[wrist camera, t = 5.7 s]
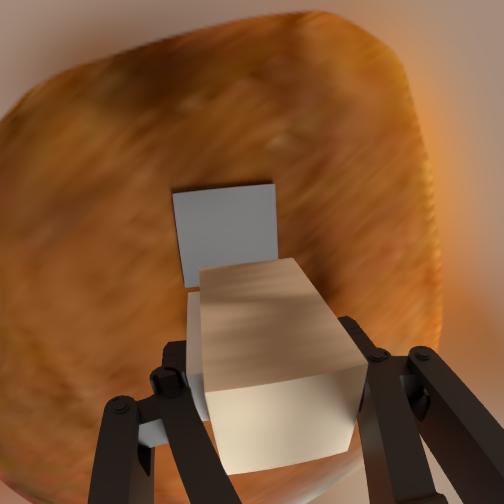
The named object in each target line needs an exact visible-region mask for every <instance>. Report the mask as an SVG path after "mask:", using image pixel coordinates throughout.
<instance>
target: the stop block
mask: <svg viewBox="0 0 504 504" xmlns="http://www.w3.org/2000/svg"><path fill="white" fill-rule="evenodd" d="M199 282H200V315H201V340H202V360H203V377H204V393H205V397H206V402H207V406H208V410H209V415H210V419H211V423H212V427H213V431H214V436H215V440H216V444H217V447H218V451H219V455H220V459H221V463H222V466H223V468H224V470H225V472H226V474H227V475H231V474H239V473H246V472H253V471H260V470H266V469H272V468H277V467H283V466H288V465H293V464H297V463H302V462H306V461H311V460H315V459H319V458H323V457H327V456H331V455H335V454H338V453H342V452H345V451H348V447H349V444H350V440H351V436H352V433H353V429H354V425H355V421H356V417H357V413H358V409H359V405H360V401H361V396H362V392H363V387H364V383H365V378H366V373H367V368H368V362H367V360H366V359H365V357H364V356H363V355H362V353H361V352H360V350H359V349H358V347H357V346H356V345H355V343H354V342H353V340H352V339H351V337H350V336H349V335H348V333H347V332H346V330H345V329H344V328H343V326H342V325H341V323H340V322H339V321H338V319H337V318H336V316H335V315H334V314H333V312H332V311H331V309H330V308H329V307H328V305H327V304H326V302H325V301H324V300H323V298H322V297H321V296H320V294H319V293H318V291H317V290H316V289H315V287H314V286H313V285H312V283H311V282H310V280H309V279H308V278H307V276H306V275H305V274H304V272H303V271H302V269H301V268H300V267H299V265H298V264H297V263H296V261H295V260H294V259H293V258H286V259H277V260H269V261H260V262H251V263H243V264H234V265H225V266H216V267H207V268H199Z"/></svg>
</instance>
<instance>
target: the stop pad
mask: <svg viewBox="0 0 504 504" xmlns="http://www.w3.org/2000/svg"><path fill="white" fill-rule="evenodd" d="M173 203H174V211H175V219H176V227H177V234H178V242H179V249H180V256H181V263H182V269H183V276H184V282H185V288H189V287H198V286H200V282H199V268H207V267H216V266H225V265H234V264H243V263H251V262H260V261H269V260H277V259H278V247H277V220H276V196H275V184H261V185H249V186H238V187H227V188H217V189H207V190H198V191H189V192H180V193H173Z"/></svg>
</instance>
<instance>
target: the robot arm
mask: <svg viewBox="0 0 504 504" xmlns="http://www.w3.org/2000/svg"><path fill="white" fill-rule="evenodd" d="M333 314H334V313H333ZM337 319H338V321H339V322H340V323H341V325H342V326H343V328H344V329H345V330H346V332H347V333H348V335H349V336H350V337H351V339H352V340H353V342H354V343H355V345H356V346H357V347H358V349H359V350H360V352H361V353H362V355H363V356H364V357H365V359H366V360H367V362H368V368H367V373H366V378H365V383H364V387H363V392H362V396H361V401H360V405H359V409H358V413H357V421H358V427H359V433H360V439H361V445H362V451H363V457H364V464H365V471H366V478H367V485H368V492H369V500H370V504H448V501H447V499H446V497H445V496H444V495H443V494H440V493H437V492H436V489H435V487H434V483H433V479H432V475H431V472H430V468H429V465H428V461H427V458H426V455H425V451H424V448H423V445H422V441H421V438H420V435H421V437H422V438H423V440H424V441H425V443H426V444H427V446H428V448H429V449H430V451H431V452H432V454H433V455H434V457H435V459H436V460H437V462H438V463H439V465H440V466H441V468H442V470H443V471H444V473H445V474H446V476H447V478H448V479H449V481H450V482H451V484H452V486H453V487H454V489H455V490H456V492H457V494H458V495H459V497H460V499H461V500H462V502H463V503H464V504H504V429H503V428H502V427H501V426H500V424H499V423H498V422H497V421H496V420H495V418H494V417H493V416H492V415H491V414H490V413H489V411H488V410H487V409H486V408H485V407H484V406H483V404H482V403H481V402H480V401H479V400H478V399H477V398H476V396H475V395H474V394H473V393H472V392H471V391H470V390H469V389H468V387H467V386H466V385H465V384H464V383H463V382H462V381H461V379H460V378H459V377H458V376H457V375H456V374H455V373H454V372H453V371H452V370H451V368H450V367H449V366H448V365H447V364H446V363H445V362H444V361H443V360H442V359H441V358H440V357H439V355H438V354H437V353H436V352H435V351H434V350H432V349H431V348H429V347H426V346H416V347H413V348H411V350H410V351H409V354H408V356H391V354H390V353H389V352H388V351H387V350H385V349H382V348H376V346H375V345H374V344H373V343H372V341H371V340H370V339H369V337H368V336H367V335H366V334H365V332H364V331H363V330H362V329H361V328H360V326H359V325H358V324H357V322H356V321H355V320H353V319H352V318H350V317H348V316H344V317H339V318H337ZM150 383H151V386H152V389H153V392H154V394H153V395H152V396H150V397H148V398H146V399H143V400H139V401H135V400H134V399H133V398H132V397H129V396H124V395H122V396H116V397H114V398H112V399H111V400H110V401H108V402H107V404H106V406H105V408H104V413H103V418H102V422H101V427H100V432H99V437H98V442H97V448H96V453H95V459H94V464H93V470H92V477H91V483H90V490H89V497H88V504H154V456H155V446H158V445H161V444H164V443H167V442H169V445H170V448H171V451H172V454H173V457H174V460H175V462H176V465H177V468H178V471H179V474H180V477H181V479H182V482H183V485H184V487H185V490H186V493H187V495H188V498H189V500H190V503H191V504H242V503H241V501H240V499H239V497H238V495H237V493H236V491H235V489H234V487H233V485H232V483H231V482H230V480H229V478H228V476H227V474H226V472H225V470H224V468H223V466H222V463H221V461H220V459H219V457H218V455H217V453H216V451H215V449H214V447H213V445H212V442H211V440H210V438H209V436H208V434H207V431H206V429H205V427H204V425H203V422H202V421H206V420H211V419H210V415H209V410H208V406H207V402H206V397H205V393H204V377H203V360H202V340H201V315H200V291H198V292H189V293H188V307H187V340H184V341H174V342H168V343H167V345H166V346H165V347H164V349H163V358H162V366H161V367H158V368H156V369H155V370H154V371H152V373H151V375H150ZM419 434H420V435H419Z"/></svg>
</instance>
